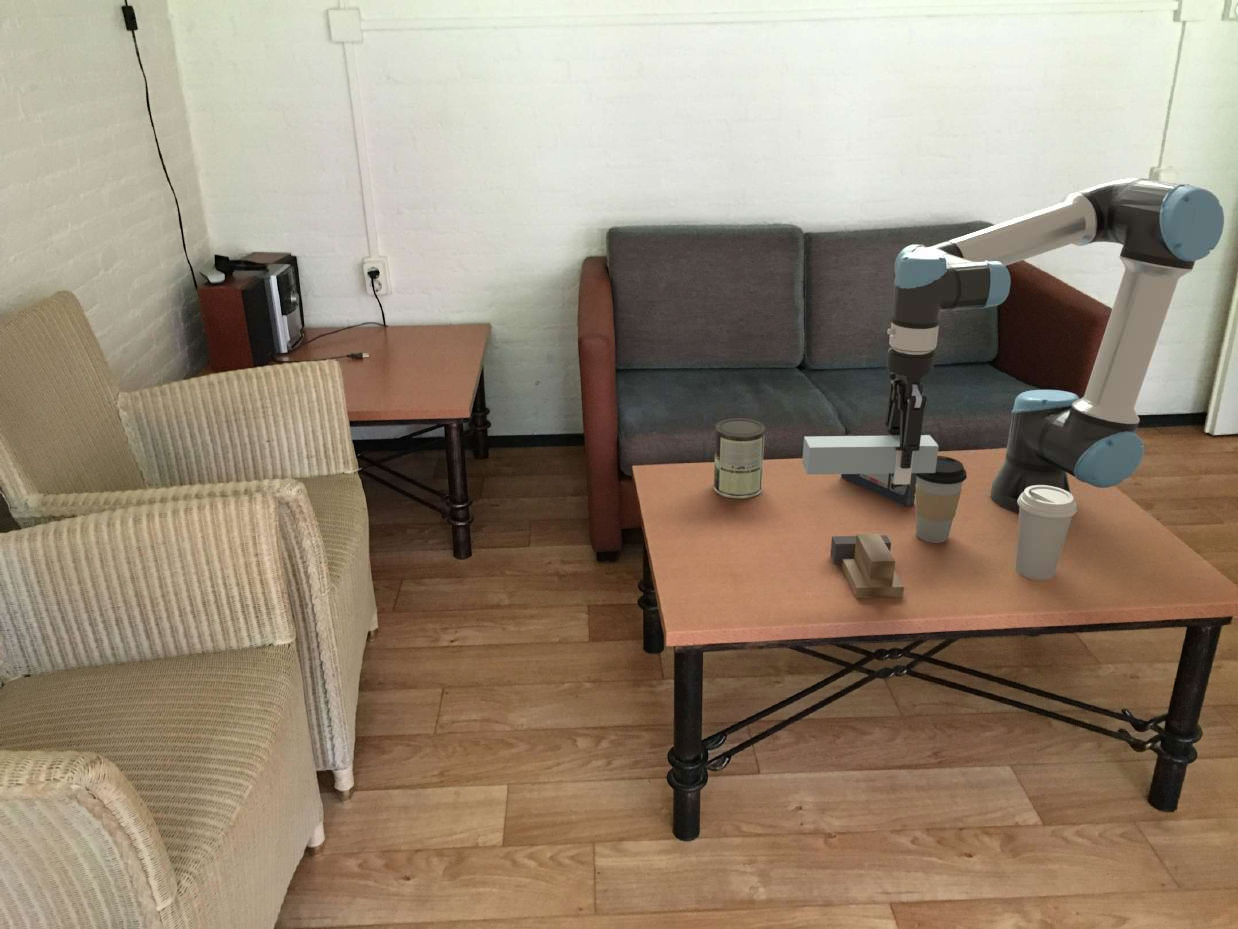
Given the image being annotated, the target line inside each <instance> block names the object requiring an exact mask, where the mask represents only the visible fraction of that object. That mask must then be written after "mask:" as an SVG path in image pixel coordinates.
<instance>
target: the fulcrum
mask: <svg viewBox="0 0 1238 929" xmlns="http://www.w3.org/2000/svg"><path fill="white" fill-rule="evenodd" d="M855 536H856V546H855V556H854V559H843V563H842V564H841V565H842V567H841V569H842V572H843V574H844V576H845V578H846V580H847V582H848V585H849V587H850V588H851V591H852V593H853V596H854V597H855V599H868V598H869V599H871V598H872V599H873V598H875V599H876V598H877V599H878V598H903V597H904V591H905V590H904V589H905V586H904V584H903V583H902V581H901V579H900V577H899V575H898V574H897V573H896V570H895V566H896V560H895V558H894V557H893V555H892V553H891V550H890V551H889V549H888V548H887V546H886V544H885V543H884V541H883V539H882V538H881V536H880V533H856V535H855Z"/></svg>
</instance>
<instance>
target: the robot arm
mask: <svg viewBox="0 0 1238 929" xmlns="http://www.w3.org/2000/svg"><path fill="white" fill-rule="evenodd" d="M1224 225H1225V214H1224V209H1223V207H1222V205H1221V204H1220V199H1219V198H1218V197H1217V196H1216V195H1215V194H1214V193H1213V192H1212V191H1210V190H1208V189H1205V188H1202V187H1197V186H1194V185H1191V184H1188V183H1186V184H1182V183H1176V182H1168V181H1161V180H1155V179H1148V178H1143V177H1142V178H1141V177H1129V178H1122V179H1116V180H1113V181H1109V182H1106V183H1105V182H1104V183H1102V184H1101V183H1100V184H1098V185H1094V186H1091V187H1089V188H1085V189H1083V190H1079V191H1076V192H1073V193H1070V194H1068V195H1066V196H1065V197H1064V198H1063V199H1062V200H1061V202H1060V203H1057V204H1055V205H1052V206H1049V207H1046V208H1043V209H1040V210H1037V211H1033V212H1031V213H1028V214H1025V215H1022V216H1020V217H1016V218H1013V219H1010V220H1006V221H1004V222H1002V223H998V224H996V225H991V226H989V227H986V228H984V229H980V230H977V231H974V232H970V233H968V234H966V235H965V234H964V235H963V236H959V237H956V238H953V239H950V240H947V241H943V242H941V243H937V244H934V245H932V246H927V245H925V244H911V245H908V246H906V247H904V248H903V249H902V250H900V252H899V253H898V255H897V257H896V259H895V261H894V267H893V268H894V274H895V278H894V280H893V281H894V284H893V285H894V291H893V302H892V309H891V310H892V311H891V324H890V328H888V329H887V331H886V332H887V335H889V341H888V342H889V345H890V347H889V348H888V349H887V358H886V366H885V367H886V369H887V370H888V372H890V373H889V375H888V376H889V386H888V396H887V405H886V413H885V421H884V426H885V428H887V430H886V431H887V436H898V435H900V446H899V447H895V450H896V451H897V453H896V462H895V471H894V479H893V483H894V484H910V480H911V472H912V463H913V455H914V451H919V449H920V440H921V435H922V429H923V421H924V414H925V407H926V404H927V401H928V400H927V396H926V395H922V394H923V384H922V380H921V379H922V378H923V377H926V376H929V375H930V374H932V372H933V371H934V367H935V366H934V365H935V358H936V351H934V350H935V349H936V347H937V344H938V338H939V337H938V336H939V328H940V318H941V313H942V312H949V311H960V310H964V311H965V310H974V309H981V310H983V309H986V308H991V307H997V306H999V305H1002V304H1003V303H1004V302H1005V301H1006V300H1007V298H1008V296H1009V293H1010V290H1011V289H1010V288H1011V284H1012V283H1011V280H1012V279H1011V275H1010V272H1009V270H1008V268H1007V267H1006V266H1009V265H1012V264H1014V263H1018V262H1021V261H1024V260H1026V259H1030V258H1033V257H1036V256H1039V255H1042V254H1045V253H1048V252H1051V251H1054V250H1058V249H1060V248H1063V247H1065V246H1069V245H1073V246H1077V247H1082V246H1086V245H1090V244H1093V243H1104V242H1105V243H1114V244H1119V245H1122V248H1121V251H1120V254H1119V256H1118V257H1119V259H1120V261H1121V262H1122V264H1123V266H1124V272H1123V276H1122V278H1121V282H1120V284H1119V287H1118V290H1117V294H1116V296H1115V300H1114V303H1113V306H1112V309H1111V311H1110V312H1111V313H1110V314H1109V318H1108V321H1107V325H1106V327H1105V331H1104V334H1103V336H1102V339H1101V343H1100V347H1099V349H1098V353H1097V355H1096V358H1095V362H1094V365H1093V368H1092V370H1091V374H1090V377H1089V380H1088V382H1087V386H1086V389H1085V391H1084V392H1085V393H1084V395H1083V397H1081V398H1080V396H1078V395H1077V394H1076V393H1073V392H1070V391H1066V390H1065V391H1064V390H1058V389H1034V390H1027V391H1024V392H1023V391H1022V392H1021V393H1019V394H1018V395H1017V396H1016V398H1015V400H1014V405H1013V409H1012V410H1011V418H1010V423H1009V424H1010V425H1009V431H1008V439H1007V445H1006V450H1005V451H1006V453H1005V458H1004V461H1003V463H1002V465H1001V467H1000V469H999V470H998V472H997V474H996V476H995V477H994V480H992V484H991V488H990V497H991V499H992V500H993V502H994V503H996V504H997V505H998V506H1001V507H1003V508H1004V509H1008V510H1010V511H1013V512H1016V513H1019V509H1020V506H1019V505H1018V503H1017V500H1018V498H1019V496H1020V495H1021V494H1022V493H1023V492H1024V490H1025V489H1026V488H1027V487H1030V486H1034V485H1047V486H1053V487H1058V488H1061V489H1063V490H1066V491H1068V492H1069V493H1071V488H1070V483H1069V482H1070V481H1069V476H1068V475H1071V476H1072V477H1074V478H1075V479H1076V480H1077V481H1079V482H1082V483H1086V484H1088V485H1091V486H1092V487H1095V488H1099V489H1101V488H1102V489H1104V488H1111V487H1115V486H1117V485H1119V484H1121V483H1123V481H1124V480H1126V479H1129V477H1131V476H1132V474H1134V472H1135V471H1136V470H1137V469H1138V467H1139V466H1140V465H1141V463H1142V461H1143V458H1144V456H1145V455H1144V454H1145V445H1144V441H1143V439H1142V438H1141V437H1140V436H1139V435H1138V434H1137V433H1136V431H1137V430H1138V427H1139V423H1140V420H1141V419H1140V417H1139V416H1138V413H1136V411H1135V406H1136V404H1137V401H1138V398H1139V395H1140V393H1141V390H1142V387H1143V383H1144V381H1145V377H1146V375H1147V372H1148V369H1149V366H1150V363H1151V360H1152V358H1153V354H1154V351H1155V349H1156V345H1157V342H1158V340H1159V337H1160V334H1161V331H1162V328H1163V326H1164V323H1165V320H1166V317H1167V314H1168V310H1169V308H1170V305H1171V302H1172V300H1173V297H1174V293H1175V291H1176V288H1177V285H1178V282H1179V280H1180V279H1181V278H1182V277H1184V276H1186V275H1187V274H1189V273H1191V272H1192V271H1193V269H1194V266H1195V263H1196V261H1199V260H1202V259H1204V258H1206V257H1208V255H1210V253H1211V251H1212V250H1214V249H1215V248H1216V247H1217V246H1218V244H1219V242H1220V240H1221V238H1222V235H1223V231H1224ZM1071 494H1072V493H1071Z"/></svg>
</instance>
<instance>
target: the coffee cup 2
mask: <svg viewBox="0 0 1238 929" xmlns="http://www.w3.org/2000/svg"><path fill="white" fill-rule="evenodd" d="M1017 503H1018V505H1019V506H1020V509H1019V512H1018V526H1017V527H1018V528H1017V541H1016V555H1015V556H1016V557H1015V571H1016V572H1017V573H1018V574H1019V575H1021V576H1023V577H1026V578H1028V579H1031V580H1035V581H1037V580H1039V581H1046V580H1050V579H1053V578H1054V577H1055V574H1056V570H1057V567H1058V564H1059V561H1060V558H1061V554H1062V551H1063V548H1064V544H1065V542H1066V541H1065V540H1066V538H1067V535H1068V531H1069V528H1070V524H1071V521H1072V518H1073V516H1074V515H1075V514H1077V512H1078V508H1077V503H1076V502H1075V497H1074V495H1073V494H1072V493H1069V492H1068V491H1066V490H1063V489H1061V488H1058V487H1053V486H1047V485H1034V486H1030V487H1027V488H1026V489H1025V490H1024V492H1023V493H1022V494H1021V495H1020V496H1019V498H1018V500H1017Z"/></svg>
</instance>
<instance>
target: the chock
mask: <svg viewBox="0 0 1238 929" xmlns="http://www.w3.org/2000/svg"><path fill="white" fill-rule="evenodd" d="M880 536H881V538H882V539H883V541H884V543H885V544H886V546H887V548H888V549H889V551H890V552H891V547H892V542H891V540H890V539H889V537H888V535H887V534H886V535H880ZM855 546H856V535H836V536H835V535H834V536H831V544H830V553H829V556H830V558H831V560H832V563H833V564H839V565H840V564H841V565H842V564H843V559H854V556H855Z"/></svg>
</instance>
